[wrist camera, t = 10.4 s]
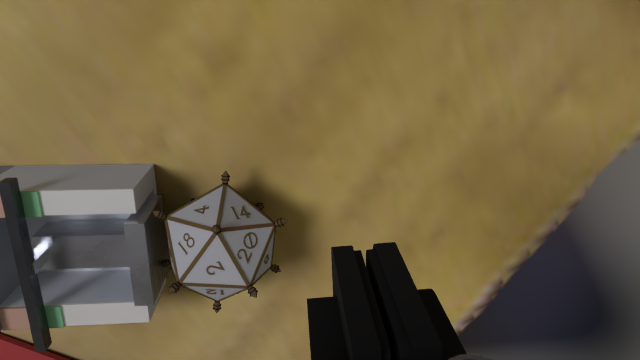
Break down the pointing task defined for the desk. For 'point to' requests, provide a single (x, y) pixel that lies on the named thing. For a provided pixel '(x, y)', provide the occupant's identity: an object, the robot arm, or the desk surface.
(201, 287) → the game die
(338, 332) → the robot arm
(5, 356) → the desk lamp
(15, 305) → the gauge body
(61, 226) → the grey channel block
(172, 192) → the desk surface
